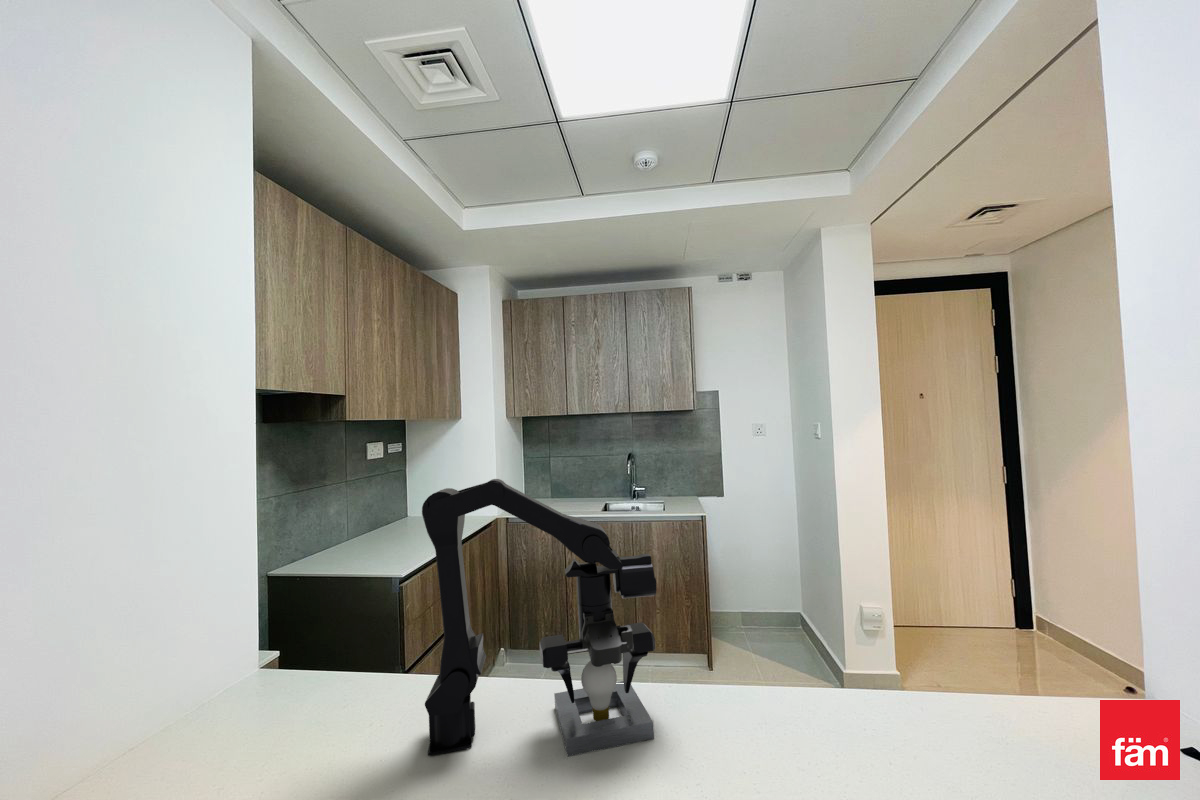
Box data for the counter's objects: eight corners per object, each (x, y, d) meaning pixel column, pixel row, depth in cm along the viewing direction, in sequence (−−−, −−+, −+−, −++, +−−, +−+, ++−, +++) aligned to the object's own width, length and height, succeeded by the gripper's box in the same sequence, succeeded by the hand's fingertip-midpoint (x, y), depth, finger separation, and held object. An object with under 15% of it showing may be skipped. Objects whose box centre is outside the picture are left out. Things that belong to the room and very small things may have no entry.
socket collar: (567, 756, 72) (566, 739, 72) (555, 708, 85) (554, 693, 85) (654, 738, 75) (653, 721, 75) (629, 694, 88) (628, 680, 88)
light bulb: (619, 732, 77) (615, 667, 78) (582, 734, 77) (579, 669, 78) (618, 711, 83) (615, 651, 84) (584, 713, 83) (581, 652, 84)
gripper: (544, 626, 72) (550, 736, 70) (663, 608, 76) (670, 712, 75) (537, 602, 82) (541, 697, 81) (641, 588, 87) (647, 678, 85)
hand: (599, 697), depth 80 cm, fingers open, 9 cm apart
